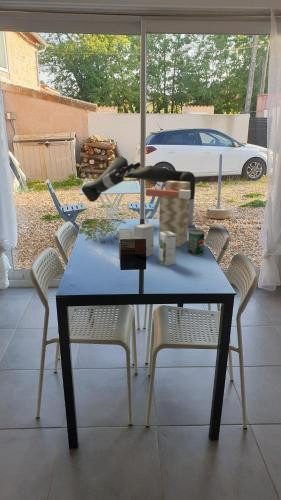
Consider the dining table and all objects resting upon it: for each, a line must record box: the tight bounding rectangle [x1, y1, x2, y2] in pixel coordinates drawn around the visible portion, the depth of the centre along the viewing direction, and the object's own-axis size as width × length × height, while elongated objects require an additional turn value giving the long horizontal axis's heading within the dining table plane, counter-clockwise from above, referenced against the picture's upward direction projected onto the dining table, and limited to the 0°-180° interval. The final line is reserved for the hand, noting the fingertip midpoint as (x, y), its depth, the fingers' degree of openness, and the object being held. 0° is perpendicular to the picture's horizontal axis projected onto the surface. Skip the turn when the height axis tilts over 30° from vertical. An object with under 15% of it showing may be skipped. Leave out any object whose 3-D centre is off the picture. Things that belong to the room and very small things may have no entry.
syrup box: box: [158, 231, 176, 267], centre depth 170 cm, size 6×6×14 cm
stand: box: [158, 181, 190, 248], centre depth 197 cm, size 12×13×32 cm
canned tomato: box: [187, 229, 206, 256], centre depth 184 cm, size 8×8×11 cm
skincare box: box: [133, 223, 155, 257], centre depth 180 cm, size 8×6×15 cm
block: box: [145, 188, 191, 199], centre depth 193 cm, size 23×4×4 cm, turn 67°
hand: (136, 164), depth 194 cm, fingers open, 8 cm apart
